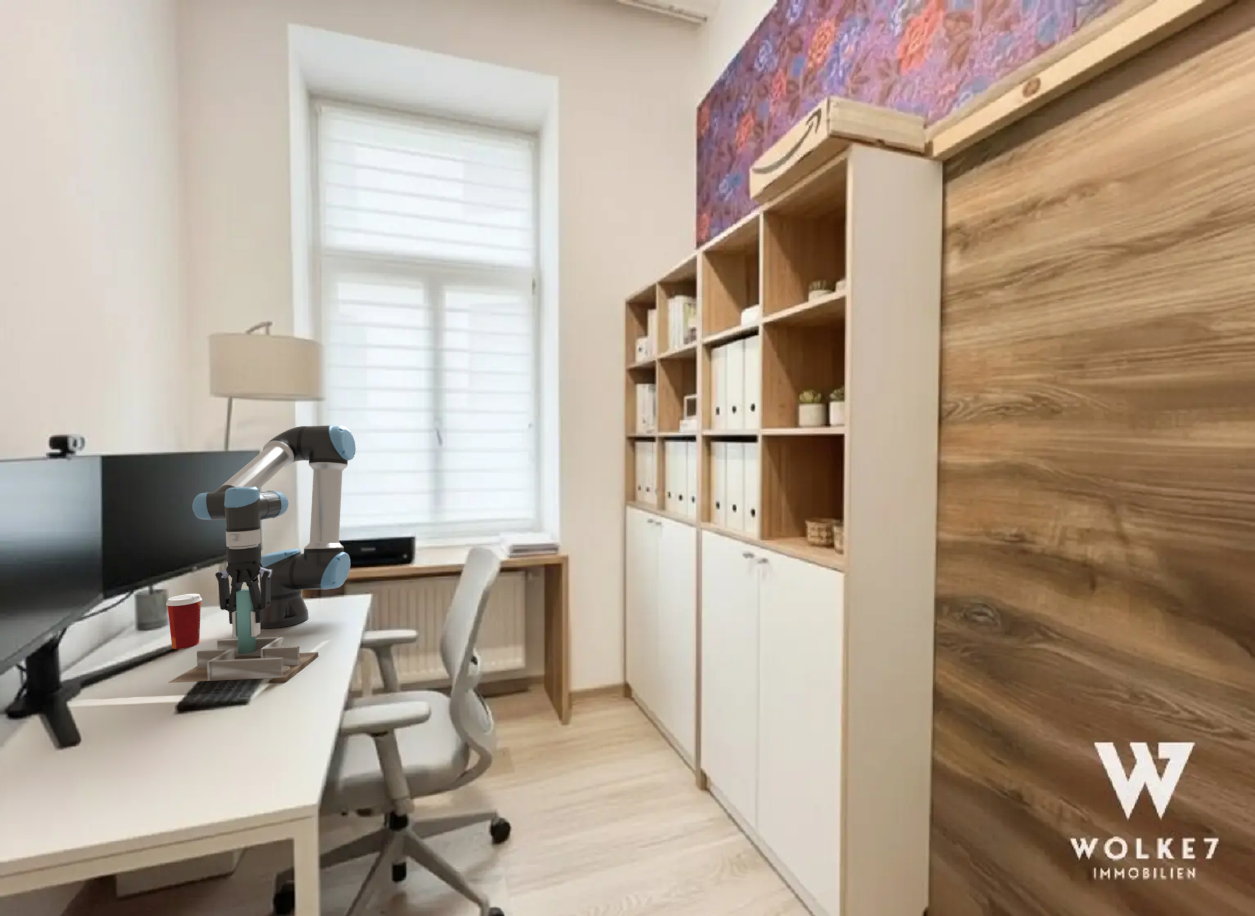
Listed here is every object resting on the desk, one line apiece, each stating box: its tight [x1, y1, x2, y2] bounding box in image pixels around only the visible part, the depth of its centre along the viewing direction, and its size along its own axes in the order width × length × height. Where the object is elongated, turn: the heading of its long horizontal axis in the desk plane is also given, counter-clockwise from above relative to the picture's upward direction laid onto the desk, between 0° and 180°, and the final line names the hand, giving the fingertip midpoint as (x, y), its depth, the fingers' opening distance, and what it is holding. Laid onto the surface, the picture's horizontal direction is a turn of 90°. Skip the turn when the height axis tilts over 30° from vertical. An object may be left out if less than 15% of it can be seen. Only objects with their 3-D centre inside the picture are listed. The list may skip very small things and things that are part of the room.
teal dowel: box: [236, 588, 257, 654], centre depth 151 cm, size 4×4×16 cm
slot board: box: [168, 636, 319, 684], centre depth 147 cm, size 17×27×6 cm, turn 94°
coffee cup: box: [165, 593, 203, 650], centre depth 164 cm, size 8×8×15 cm
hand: (246, 635), depth 151 cm, fingers closed on teal dowel, 4 cm apart
